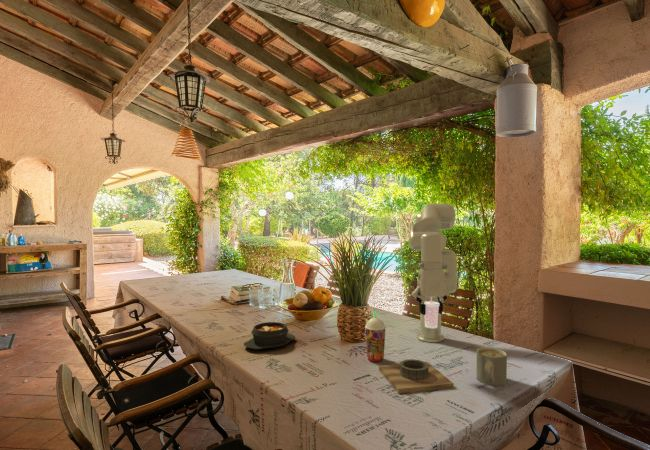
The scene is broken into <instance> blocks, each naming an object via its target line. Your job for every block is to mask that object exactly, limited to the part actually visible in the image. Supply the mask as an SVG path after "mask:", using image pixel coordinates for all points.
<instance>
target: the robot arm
mask: <svg viewBox="0 0 650 450" xmlns="http://www.w3.org/2000/svg"><path fill="white" fill-rule="evenodd" d="M455 222H456V209H455V208H454V206H453V205H452V204H449V203H429V204H426V205H424V206H423V207H422V209H421V212H420V213H417V214H416V217H415V223H414V224H413V225H412V226H411V227H410V230H409V236H408V245H409V248H410V249H411V250H413V251H419V252H420V263H417V267H418V268H420V269H419V271H418V276H417V281H416V282H417V283H416V285H417V286H416V287H415V289H414V290H413V291H412V292H411V297H413V298H414V299H415V300H416V302H417V303H418V304H419V305H418V306H419V307H418V308H419V316H420V317H419V319H420V321H419V322H420V323H419V325H420V326H419V328H418V329H419V330H420V331H419V332H418V333H417V334H416V338H417V339H418V340H419V341H421V342H426V343H440V342H444V340H445V336H444V335H443V334H442V314H443V311H444V304H445V301H446V300H447V299H448V297H449V296H450V295H451V294H453V293H456V291H457V289H458V269H457V268H458V265H457V264H458V262H457V255H456V252H455V251H454V250H452V249H445V248H446V246H447V236H445V234H444V233H443V232H441V231H449V230H452V229H453V228H454V226H455ZM445 271H446V272H445ZM431 297H432V302H438V303H440V306H439V311H438V326H437V328H426V327H425V318H424V315H425V314H426V305H425V304H424V302H426V301H431Z"/></svg>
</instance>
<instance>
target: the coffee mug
mask: <svg viewBox="0 0 650 450" xmlns="http://www.w3.org/2000/svg"><path fill="white" fill-rule="evenodd" d="M507 355H508V354H507V353H506V351H504V350H503V349H499V348H493V347H478V348H477V349H476V365H475V369H476V371H475V372H476V378H475V379H476V380H477V382H480V383H481V384H484V385H487V386H492V387H502V386H505V385H506V384H507V375H508V374H507V373H508V372H507V368H508V367H507V365H508V362H507V361H508V357H507Z"/></svg>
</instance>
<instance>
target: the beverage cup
mask: <svg viewBox="0 0 650 450" xmlns="http://www.w3.org/2000/svg"><path fill="white" fill-rule="evenodd" d="M424 304H425V305H426V314H425V315H424V318H425V327H426V328H437V326H438V311H439V306H440V303H438V302H432V297H431V301H426V302H424Z"/></svg>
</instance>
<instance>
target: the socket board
mask: <svg viewBox="0 0 650 450" xmlns="http://www.w3.org/2000/svg"><path fill="white" fill-rule="evenodd" d="M378 371H379V372H380V373H381V374H382V376H383V377H384V378H385V379H386V380H387V381H388V382H389V384H390V385H391V386H392V388H394V390H395V391H396V393H397V394H405V393H414V392H415V393H416V392H424V391H434V390H435V391H436V390H443V389H454V382H453V381H451V380H450V379H449V378H448V377H447V376H445V375H444V374H443V373H442V372H441V371H439V370H438V369H437V368H436V367H435V366H433V365H432V364H431V363H430V362H428V361H424V360H420V359H412V358H411V359H403V360H402V361H400V363H394V364H384V365H378Z"/></svg>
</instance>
